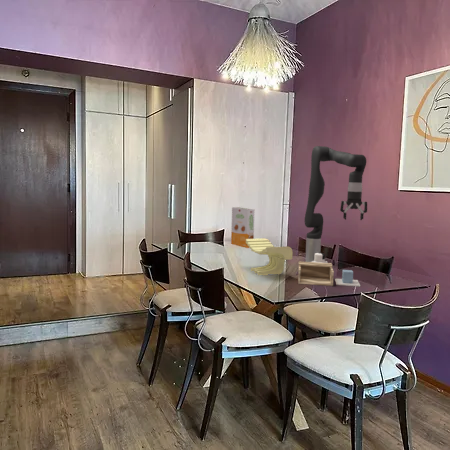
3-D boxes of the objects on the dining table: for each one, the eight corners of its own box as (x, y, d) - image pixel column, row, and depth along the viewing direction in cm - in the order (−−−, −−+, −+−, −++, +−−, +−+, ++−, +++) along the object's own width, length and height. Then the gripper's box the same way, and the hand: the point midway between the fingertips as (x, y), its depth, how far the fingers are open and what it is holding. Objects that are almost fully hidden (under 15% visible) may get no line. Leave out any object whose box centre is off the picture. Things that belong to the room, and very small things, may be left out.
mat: (334, 279, 234) (334, 278, 234) (357, 280, 232) (357, 279, 232) (336, 285, 222) (336, 283, 222) (360, 286, 220) (360, 285, 220)
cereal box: (253, 247, 332) (254, 209, 329) (246, 248, 329) (247, 209, 325) (237, 243, 351) (238, 207, 347) (231, 243, 348) (232, 207, 344)
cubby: (298, 275, 241) (298, 261, 240) (330, 277, 238) (331, 263, 237) (298, 283, 223) (298, 268, 222) (333, 286, 220) (333, 270, 219)
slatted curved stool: (291, 277, 237) (292, 246, 235) (265, 279, 232) (266, 247, 229) (268, 266, 265) (269, 238, 263) (245, 267, 260) (245, 238, 258)
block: (341, 280, 230) (342, 269, 229) (351, 281, 229) (352, 270, 228) (342, 282, 225) (343, 271, 224) (352, 283, 224) (353, 272, 223)
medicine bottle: (316, 271, 254) (317, 251, 253) (327, 273, 250) (328, 253, 248) (310, 273, 249) (311, 253, 247) (321, 275, 244) (322, 254, 243)
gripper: (367, 190, 237) (365, 219, 239) (340, 190, 239) (339, 218, 241) (369, 191, 229) (367, 221, 231) (342, 190, 232) (340, 220, 234)
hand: (353, 219), depth 236 cm, fingers open, 8 cm apart
